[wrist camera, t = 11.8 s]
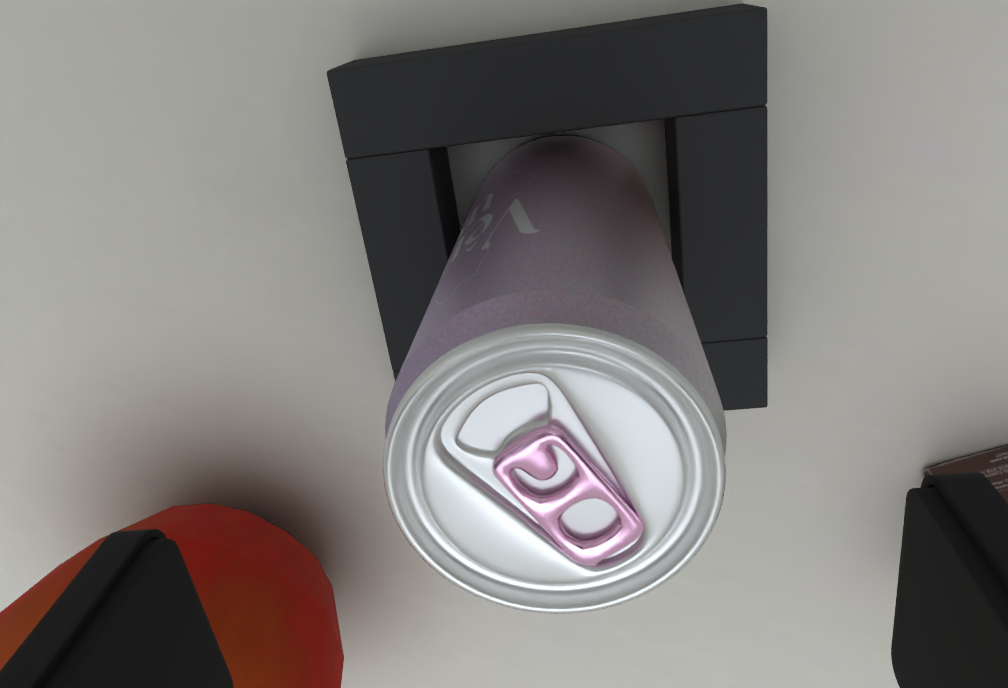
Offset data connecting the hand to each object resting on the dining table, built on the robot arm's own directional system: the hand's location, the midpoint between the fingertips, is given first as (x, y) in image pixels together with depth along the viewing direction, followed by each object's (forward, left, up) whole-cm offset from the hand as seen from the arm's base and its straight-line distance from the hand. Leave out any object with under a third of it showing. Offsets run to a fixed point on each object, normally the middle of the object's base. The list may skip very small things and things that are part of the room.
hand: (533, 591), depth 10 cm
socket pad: (0, 0, -18) cm, 18 cm away
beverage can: (0, 0, -18) cm, 18 cm away
